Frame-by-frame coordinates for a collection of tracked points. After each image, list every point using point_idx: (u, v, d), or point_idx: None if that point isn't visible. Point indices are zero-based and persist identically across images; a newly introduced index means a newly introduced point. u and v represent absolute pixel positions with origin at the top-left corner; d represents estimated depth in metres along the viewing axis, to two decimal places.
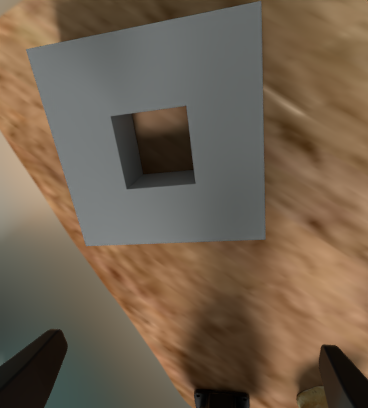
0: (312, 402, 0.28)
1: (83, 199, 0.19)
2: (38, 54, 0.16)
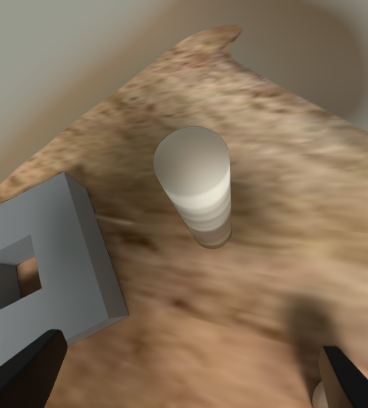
0: None
1: None
2: None
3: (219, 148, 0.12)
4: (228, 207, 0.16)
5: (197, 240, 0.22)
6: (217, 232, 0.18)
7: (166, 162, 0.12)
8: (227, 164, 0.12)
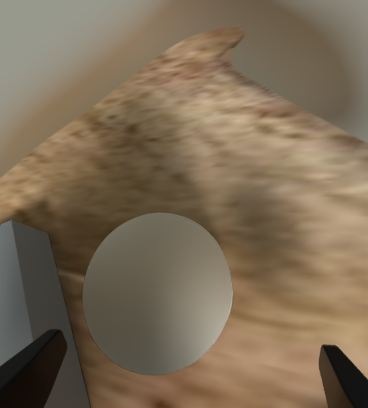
0: None
1: None
2: None
3: (211, 266, 0.06)
4: None
5: None
6: None
7: (108, 289, 0.06)
8: (227, 306, 0.06)
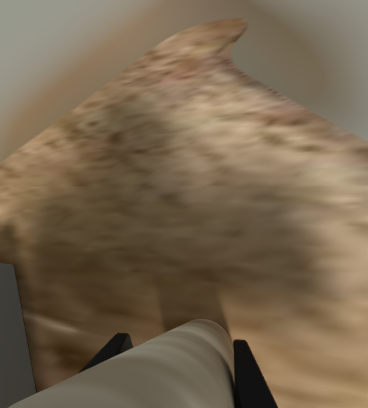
0: None
1: None
2: None
3: None
4: None
5: None
6: None
7: None
8: None
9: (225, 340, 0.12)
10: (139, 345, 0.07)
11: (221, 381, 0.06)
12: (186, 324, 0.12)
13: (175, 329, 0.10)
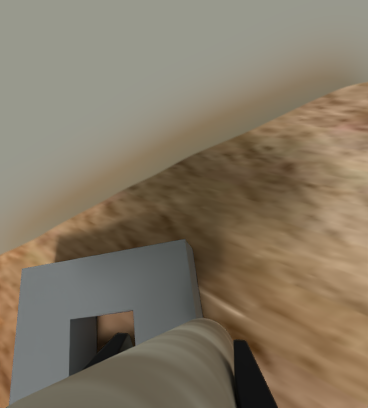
0: None
1: None
2: (29, 272, 0.21)
3: None
4: None
5: None
6: None
7: None
8: None
9: (226, 339, 0.12)
10: (141, 344, 0.07)
11: (222, 379, 0.06)
12: (187, 323, 0.12)
13: (176, 328, 0.10)
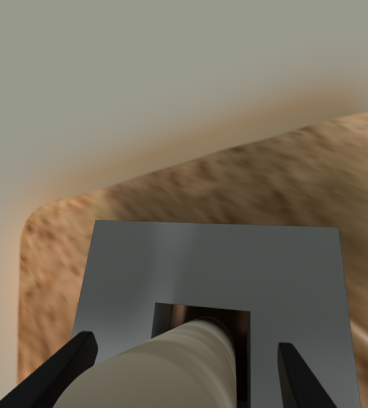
0: None
1: None
2: (104, 226, 0.16)
3: None
4: None
5: None
6: None
7: None
8: None
9: (226, 334, 0.14)
10: (160, 335, 0.08)
11: (224, 362, 0.08)
12: (193, 321, 0.13)
13: (185, 324, 0.11)
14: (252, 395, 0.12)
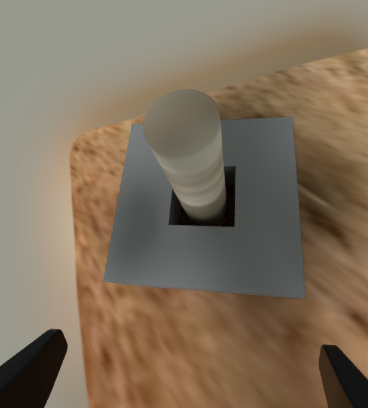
0: None
1: (123, 229, 0.20)
2: (138, 127, 0.23)
3: (210, 109, 0.12)
4: (221, 179, 0.16)
5: (192, 220, 0.22)
6: (211, 208, 0.18)
7: (156, 125, 0.12)
8: (218, 125, 0.11)
9: None
10: None
11: None
12: None
13: None
14: (235, 208, 0.19)
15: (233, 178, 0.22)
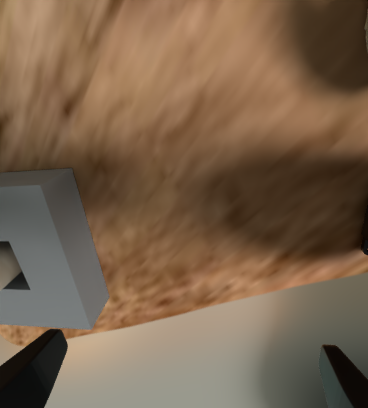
0: None
1: (49, 320, 0.24)
2: None
3: None
4: None
5: None
6: None
7: None
8: None
9: None
10: None
11: None
12: None
13: None
14: None
15: None
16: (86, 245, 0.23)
